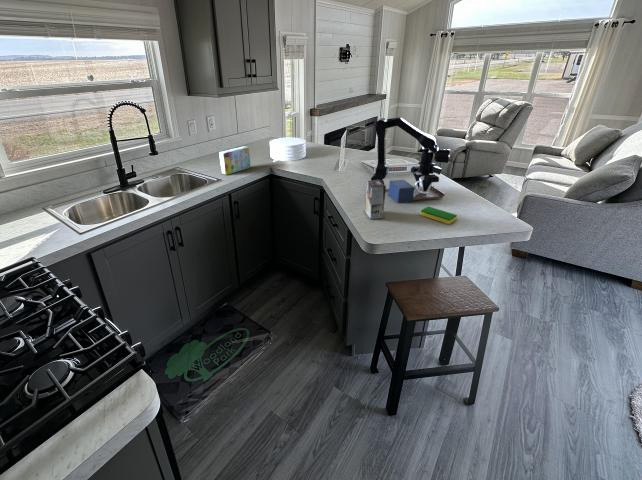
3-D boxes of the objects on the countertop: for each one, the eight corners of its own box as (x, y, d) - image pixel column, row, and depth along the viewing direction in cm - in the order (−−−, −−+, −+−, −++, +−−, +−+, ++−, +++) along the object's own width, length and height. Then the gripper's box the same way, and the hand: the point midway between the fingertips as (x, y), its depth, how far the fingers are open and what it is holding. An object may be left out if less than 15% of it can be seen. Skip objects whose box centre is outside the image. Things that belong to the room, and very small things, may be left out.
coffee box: (383, 218, 153) (386, 186, 146) (370, 219, 152) (372, 187, 146) (377, 210, 161) (379, 179, 154) (364, 211, 161) (366, 180, 154)
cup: (434, 194, 173) (436, 179, 169) (417, 196, 170) (419, 182, 167) (425, 189, 179) (427, 175, 176) (409, 191, 176) (411, 177, 173)
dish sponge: (427, 210, 159) (428, 205, 158) (456, 219, 150) (457, 214, 149) (419, 214, 155) (420, 210, 154) (449, 224, 145) (450, 219, 144)
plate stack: (273, 151, 272) (273, 137, 267) (307, 151, 268) (307, 137, 263) (267, 160, 247) (266, 145, 242) (304, 160, 243) (303, 145, 238)
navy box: (398, 203, 168) (399, 188, 165) (387, 194, 180) (389, 180, 176) (443, 199, 170) (446, 185, 167) (430, 190, 182) (432, 177, 179)
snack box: (246, 166, 234) (244, 145, 228) (250, 167, 231) (249, 146, 225) (221, 173, 221) (218, 151, 215) (225, 175, 217) (223, 153, 211)
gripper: (451, 165, 160) (446, 194, 166) (431, 155, 177) (427, 182, 183) (430, 166, 159) (425, 196, 165) (412, 156, 176) (408, 183, 182)
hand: (422, 189), depth 174 cm, fingers closed on cup, 6 cm apart
